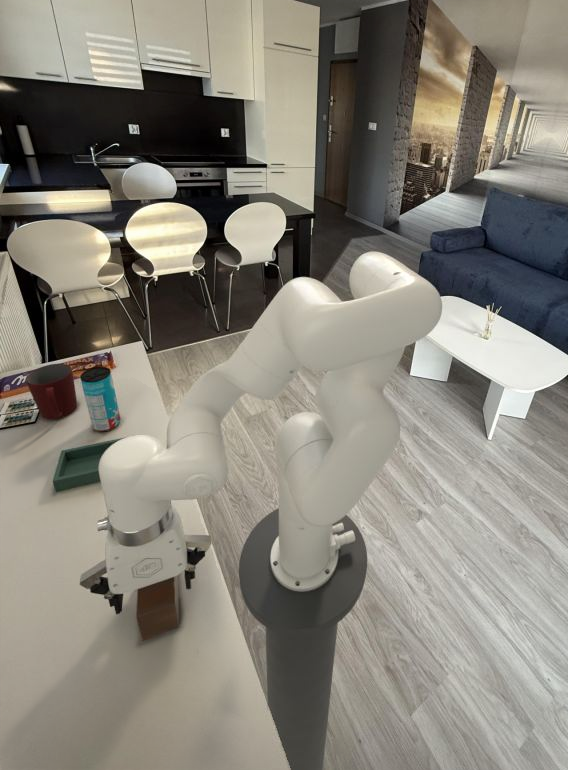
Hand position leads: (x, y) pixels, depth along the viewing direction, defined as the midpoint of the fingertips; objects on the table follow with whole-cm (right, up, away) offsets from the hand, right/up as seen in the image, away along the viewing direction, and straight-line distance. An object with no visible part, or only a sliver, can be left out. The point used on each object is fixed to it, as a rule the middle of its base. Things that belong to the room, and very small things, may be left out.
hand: (155, 591), depth 62 cm
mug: (-43, +18, +37) cm, 59 cm away
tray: (-24, +10, +23) cm, 35 cm away
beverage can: (-30, +16, +35) cm, 48 cm away
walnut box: (0, -2, +1) cm, 3 cm away
